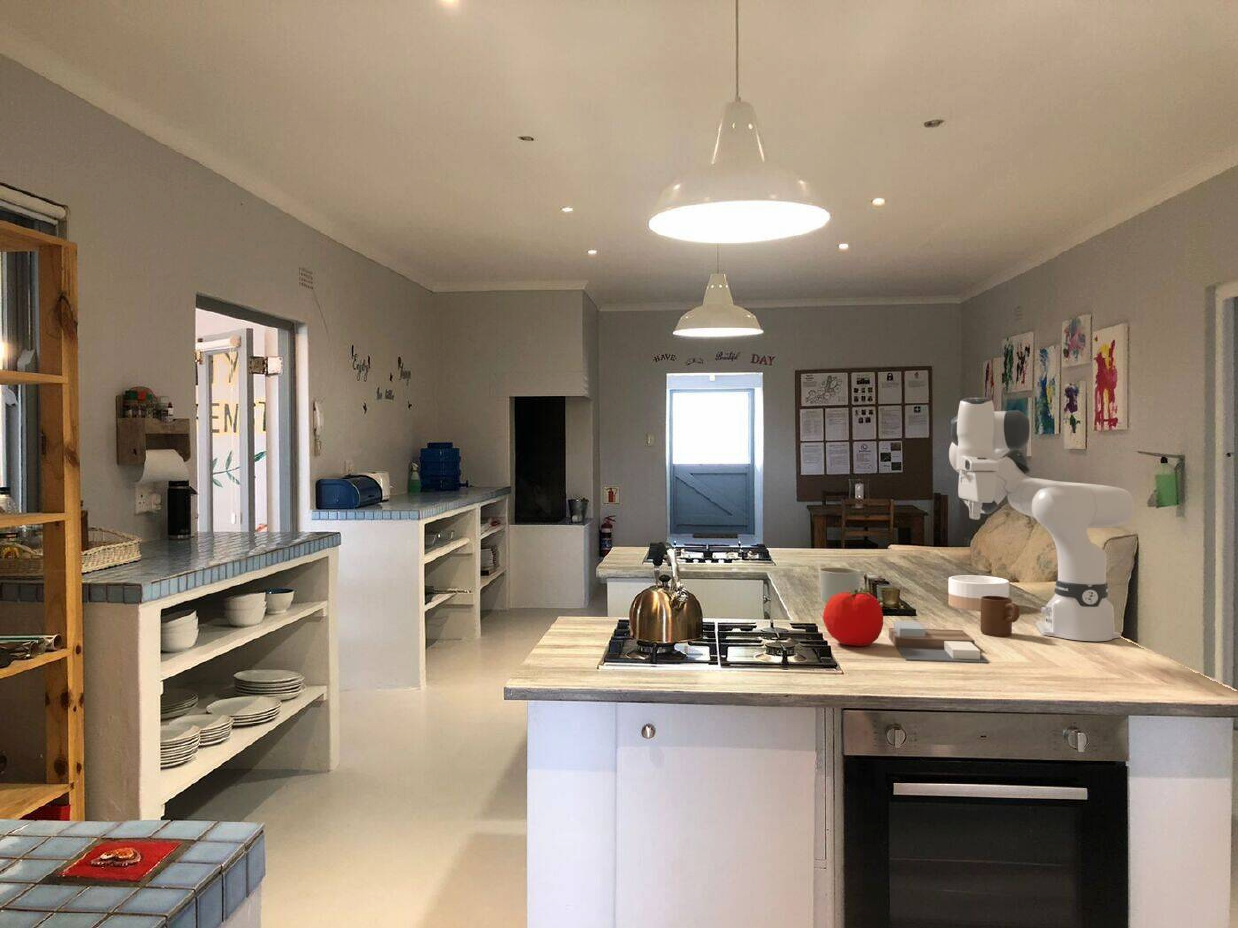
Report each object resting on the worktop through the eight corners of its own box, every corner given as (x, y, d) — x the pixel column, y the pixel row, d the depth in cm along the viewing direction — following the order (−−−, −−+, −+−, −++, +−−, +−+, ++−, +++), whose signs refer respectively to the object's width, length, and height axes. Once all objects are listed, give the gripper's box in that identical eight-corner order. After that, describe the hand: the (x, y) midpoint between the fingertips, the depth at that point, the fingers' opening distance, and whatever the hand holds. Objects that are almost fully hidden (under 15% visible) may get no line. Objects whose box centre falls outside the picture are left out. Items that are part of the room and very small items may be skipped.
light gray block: (893, 628, 227) (893, 621, 227) (918, 629, 226) (918, 621, 226) (899, 636, 218) (899, 628, 218) (925, 637, 217) (925, 629, 217)
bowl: (969, 612, 263) (969, 584, 262) (937, 602, 279) (937, 575, 279) (1021, 610, 266) (1021, 582, 266) (986, 600, 283) (986, 574, 283)
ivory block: (944, 649, 214) (944, 640, 214) (970, 650, 213) (970, 641, 213) (952, 658, 205) (952, 649, 205) (980, 659, 204) (980, 650, 204)
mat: (896, 648, 216) (896, 647, 216) (974, 650, 213) (974, 649, 213) (906, 660, 204) (906, 658, 204) (988, 663, 202) (988, 661, 202)
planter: (865, 609, 267) (865, 572, 267) (824, 609, 267) (824, 572, 267) (853, 601, 280) (854, 567, 279) (814, 601, 279) (814, 567, 279)
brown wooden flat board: (888, 637, 228) (888, 627, 228) (962, 639, 225) (962, 630, 225) (896, 648, 216) (897, 638, 216) (974, 650, 213) (974, 640, 213)
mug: (1030, 639, 226) (1031, 602, 226) (1005, 641, 224) (1006, 604, 224) (998, 630, 238) (998, 594, 237) (974, 631, 235) (974, 596, 235)
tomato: (895, 647, 217) (895, 591, 217) (854, 654, 210) (855, 596, 210) (847, 635, 231) (847, 582, 230) (808, 641, 223) (808, 587, 223)
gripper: (952, 461, 230) (951, 515, 230) (972, 463, 210) (971, 522, 210) (977, 462, 229) (977, 515, 229) (1000, 463, 209) (999, 522, 209)
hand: (974, 519), depth 219 cm, fingers closed
